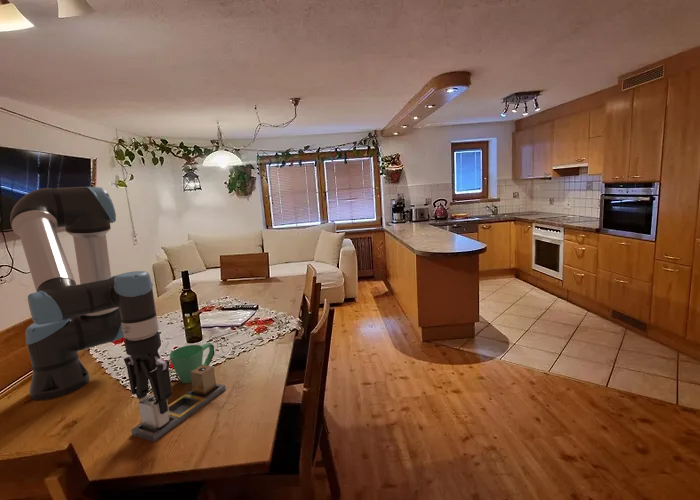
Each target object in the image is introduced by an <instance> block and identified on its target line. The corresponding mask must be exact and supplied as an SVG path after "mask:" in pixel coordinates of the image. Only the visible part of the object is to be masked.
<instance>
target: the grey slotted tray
mask: <svg viewBox="0 0 700 500" xmlns="http://www.w3.org/2000/svg"><path fill="white" fill-rule="evenodd" d="M216 388H217V389H216V390H215V391H213V392H212V393H210V394H209V395H208V396H206V397H201V396H196V395H194V394H193V389H191V390H190V391H188V392H187V393H185V394H183V395H182V396H180V397H178V398H177V399H175V400H174V401H172V402H171V403H169V404H168V407H169V414H170V420H171V422H169V423H168V424H166V425H165V426H164V427H162V428H161V429H159V430H158V431H156V432H155V433H152V432H149V431H146V430H143V427H142V422H141V423H139V424H137V425H136V426H135V427H133V428H132V429H131V430H130V431H131V435H132V436H133V437H138V438H140V439H144V440H146V441H149V442H152V443H155V442H156V441H158V440H159V439H161V438H162V437H164V436H165V435H167V433H168V432H170V431H172V429H174V428H176V427H177V426H178V425H180V424H182V422H183V421H185V420H187V419H188V418H190V417H191V416H192V415H193V414H195V413H196V412H198V411H199V410H200V409H201V408H203V407H204V406H206V405H207V404H208V403H210V402H211V401H212V400H214V399H215V398H216V397H218V396H219V395H221V394H222V393H224V392H225V391H227V388H226V385H225V384H221V383H220V384H219V383H216Z"/></svg>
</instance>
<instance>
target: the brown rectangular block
mask: <svg viewBox="0 0 700 500" xmlns="http://www.w3.org/2000/svg"><path fill="white" fill-rule="evenodd" d="M190 374H191V381H192V382H191V386H192V390H193V394H194V395H196V396H201V397H206V396H208V395H209V394H210V393H212V392H213V391H215V390H216V389H217V388H216V384H217V382H216V375H215V374H216V373H215V366H212V365H211V366H210V365H209V366H206V365H203V364H202V365H201V366H199V367H198V368H196V369H194V370H193V371H191V372H190Z"/></svg>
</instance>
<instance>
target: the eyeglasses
mask: <svg viewBox="0 0 700 500" xmlns="http://www.w3.org/2000/svg"><path fill="white" fill-rule="evenodd" d="M233 333H236V335H237V334H238V335H239V332H238V331H237V330H235V331H234V330H233V331H231V332H228V333H225V334H221V335H218V336H216V337H213V336H211V338H209V342H208V343H211V340H215V341H216V349H215V351H217V350H218V347H219V342H220V348H221V351H222V352H224V351H223V347H222V346H223V345H222V344H223V343H227V341H225V340H223V341H221V340H218V338H221V337H223V336H226V335H230V334H233ZM259 339H261V342H263V341H264V338H263V337H262V336H260V337H257V338H255V339H252V340H249V341H247V342H244V343H242V344H239V345H234V343H233V342H231V341H228V343H230V344H232V345H233V348H234V351H233V353H232V355H234V354H235V352H236V348H238V347H241V346H242V345H245V344H248V343H251V342H254V341H256V340H259Z"/></svg>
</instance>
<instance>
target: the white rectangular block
mask: <svg viewBox="0 0 700 500" xmlns="http://www.w3.org/2000/svg"><path fill="white" fill-rule="evenodd" d="M155 401H156V400H155V397H154V393H151V396H149V397H147V398H145V399H144V400H142V401H139V402H138V403H137V404H138V409H139V415H140V420H141V423H142V427H143V430H146V431H149V432H152V433H155V432H156V431H158V430H159V429H161V428H162V427H164V426H165V425H166V424H168V423H169V422H171V420H170V414H169V407H168V416H169V422H167V423H166V424H164V425H163V426H161V427H158V425H157V419H156V413H155V407H154V402H155ZM168 402H169V401H168V400H167V406H168V405H169V404H168Z"/></svg>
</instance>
